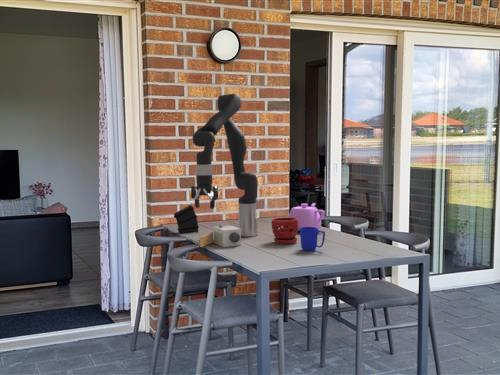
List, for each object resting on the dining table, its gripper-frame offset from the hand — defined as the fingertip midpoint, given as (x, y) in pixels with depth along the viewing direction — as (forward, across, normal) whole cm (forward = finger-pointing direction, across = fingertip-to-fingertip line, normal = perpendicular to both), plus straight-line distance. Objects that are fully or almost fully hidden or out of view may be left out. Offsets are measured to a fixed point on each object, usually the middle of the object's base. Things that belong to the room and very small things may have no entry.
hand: (204, 208), depth 272 cm
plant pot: (+19, -28, -29) cm, 44 cm away
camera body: (+19, -5, -12) cm, 22 cm away
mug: (+19, -48, -18) cm, 54 cm away
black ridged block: (+19, +34, -29) cm, 48 cm away
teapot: (+19, -20, -66) cm, 72 cm away
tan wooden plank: (+19, +3, -5) cm, 19 cm away
